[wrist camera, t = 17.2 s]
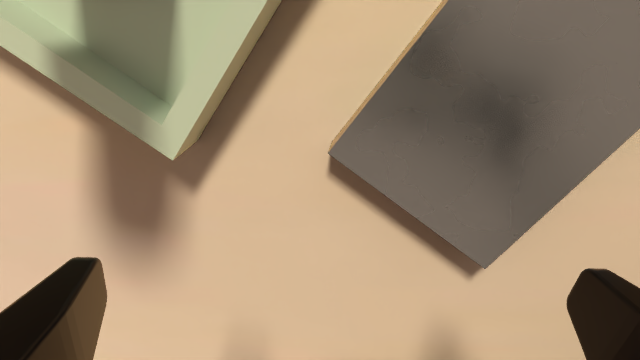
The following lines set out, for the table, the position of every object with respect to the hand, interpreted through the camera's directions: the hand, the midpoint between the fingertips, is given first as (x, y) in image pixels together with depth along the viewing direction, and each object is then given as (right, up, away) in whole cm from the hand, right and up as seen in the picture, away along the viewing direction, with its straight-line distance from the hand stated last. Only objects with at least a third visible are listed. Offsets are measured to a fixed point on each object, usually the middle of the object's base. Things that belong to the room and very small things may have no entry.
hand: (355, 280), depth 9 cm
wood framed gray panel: (+7, +6, +9) cm, 13 cm away
